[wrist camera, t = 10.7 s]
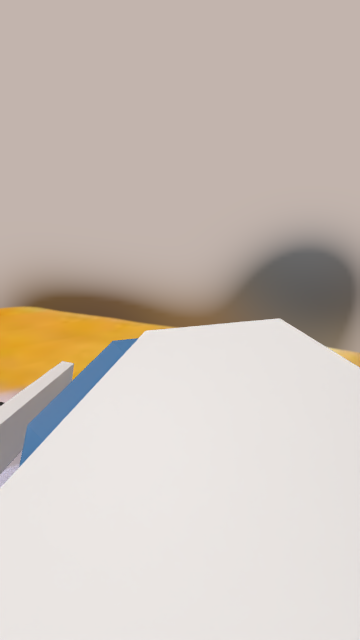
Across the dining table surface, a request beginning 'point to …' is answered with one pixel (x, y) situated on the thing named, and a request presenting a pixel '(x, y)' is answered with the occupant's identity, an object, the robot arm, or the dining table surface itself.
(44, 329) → the dining table surface
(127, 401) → the water bottle
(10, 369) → the dining table surface
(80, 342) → the dining table surface
